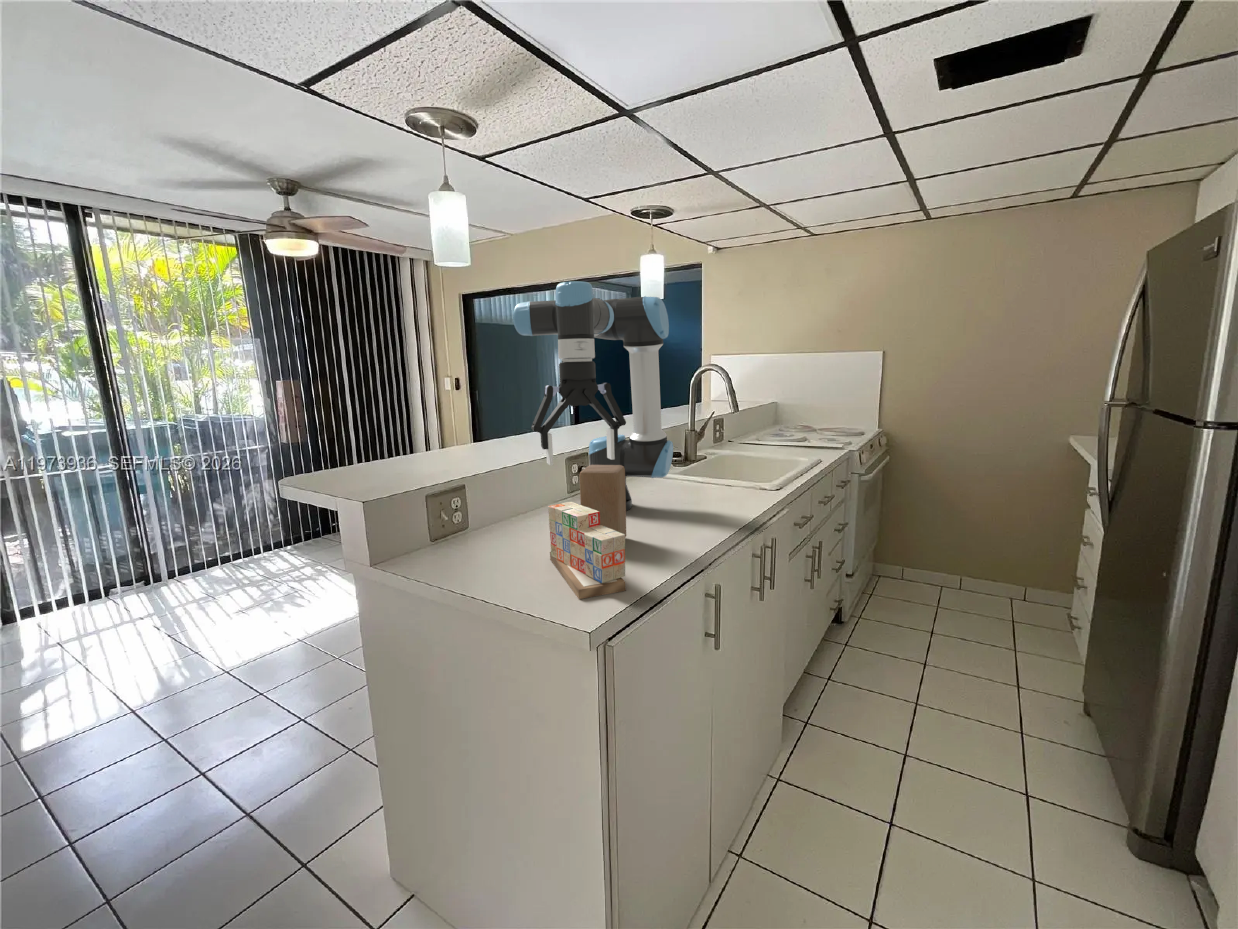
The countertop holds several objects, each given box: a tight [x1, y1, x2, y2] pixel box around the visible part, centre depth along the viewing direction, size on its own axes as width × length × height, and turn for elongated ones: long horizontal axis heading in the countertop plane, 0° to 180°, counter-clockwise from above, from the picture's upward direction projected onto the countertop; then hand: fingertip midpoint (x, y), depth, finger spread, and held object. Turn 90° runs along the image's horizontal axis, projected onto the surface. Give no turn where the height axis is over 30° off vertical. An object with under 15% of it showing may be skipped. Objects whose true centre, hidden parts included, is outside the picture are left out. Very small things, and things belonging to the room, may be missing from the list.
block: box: [578, 465, 627, 539], centre depth 138 cm, size 10×10×20 cm
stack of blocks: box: [547, 501, 626, 583], centre depth 118 cm, size 21×6×12 cm, turn 36°
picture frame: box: [549, 551, 627, 600], centre depth 120 cm, size 10×24×2 cm, turn 21°
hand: (581, 461), depth 115 cm, fingers open, 13 cm apart
